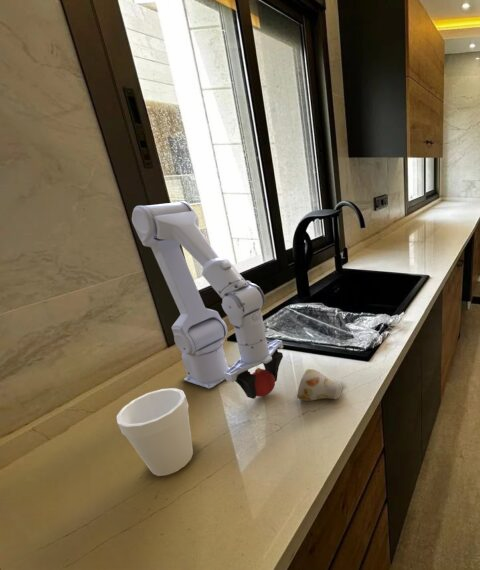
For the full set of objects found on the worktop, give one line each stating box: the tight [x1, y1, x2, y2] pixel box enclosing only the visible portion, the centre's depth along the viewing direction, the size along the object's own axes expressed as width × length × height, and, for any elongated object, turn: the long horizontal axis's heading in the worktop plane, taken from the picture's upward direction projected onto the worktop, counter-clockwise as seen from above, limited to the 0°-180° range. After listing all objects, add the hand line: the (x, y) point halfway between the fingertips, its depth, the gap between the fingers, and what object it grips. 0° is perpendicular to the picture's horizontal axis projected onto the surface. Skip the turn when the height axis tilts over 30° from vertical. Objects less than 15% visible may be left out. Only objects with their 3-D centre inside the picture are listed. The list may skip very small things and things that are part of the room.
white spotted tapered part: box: [296, 368, 343, 402], centre depth 77 cm, size 8×10×10 cm
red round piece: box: [252, 367, 276, 398], centre depth 77 cm, size 6×6×8 cm
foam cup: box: [116, 387, 194, 477], centre depth 59 cm, size 10×9×13 cm
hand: (262, 388), depth 77 cm, fingers closed on red round piece, 6 cm apart
